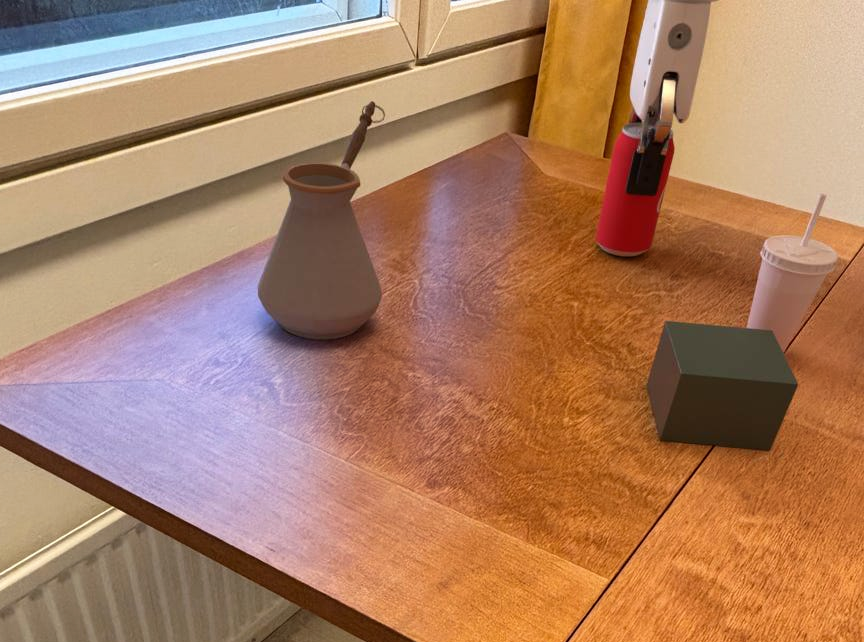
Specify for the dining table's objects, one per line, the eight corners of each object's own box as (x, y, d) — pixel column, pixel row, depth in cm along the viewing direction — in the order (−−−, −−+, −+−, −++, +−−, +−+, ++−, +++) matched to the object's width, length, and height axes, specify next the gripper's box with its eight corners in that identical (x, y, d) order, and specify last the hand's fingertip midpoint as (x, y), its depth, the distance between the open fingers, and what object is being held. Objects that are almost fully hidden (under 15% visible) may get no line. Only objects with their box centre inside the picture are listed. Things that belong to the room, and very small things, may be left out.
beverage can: (655, 244, 101) (684, 127, 93) (642, 264, 97) (672, 143, 89) (601, 233, 103) (626, 117, 94) (587, 252, 99) (611, 132, 90)
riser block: (747, 394, 79) (772, 330, 75) (770, 450, 72) (798, 384, 68) (646, 385, 79) (665, 320, 75) (659, 440, 73) (681, 373, 68)
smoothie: (804, 349, 85) (869, 196, 76) (785, 375, 82) (850, 217, 72) (739, 329, 88) (794, 177, 78) (718, 353, 84) (772, 197, 74)
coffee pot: (359, 359, 79) (366, 179, 69) (239, 336, 81) (228, 157, 70) (420, 268, 94) (433, 108, 83) (317, 249, 96) (317, 90, 85)
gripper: (743, -4, 76) (684, 215, 89) (707, -37, 89) (660, 159, 101) (655, -10, 77) (609, 209, 89) (632, -42, 89) (594, 155, 101)
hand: (636, 181), depth 95 cm, fingers closed on beverage can, 6 cm apart
